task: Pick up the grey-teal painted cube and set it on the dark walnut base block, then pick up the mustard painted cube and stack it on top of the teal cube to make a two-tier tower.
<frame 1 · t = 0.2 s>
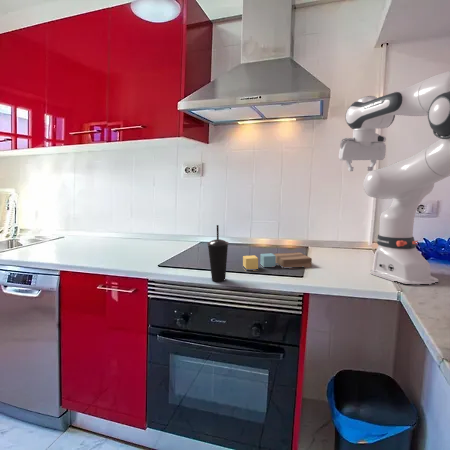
hand: (360, 171, 138), 39 cm above the worktop, tool pointing down, fingers open, 8 cm apart
walnut base: (292, 265, 136), on the worktop
teal cube: (267, 266, 133), on the worktop
mustard cube: (250, 269, 129), on the worktop
drinking cup: (218, 280, 115), on the worktop
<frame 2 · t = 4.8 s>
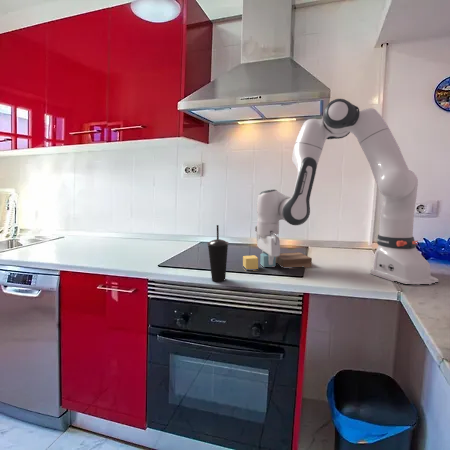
hand: (267, 262, 132), 2 cm above the worktop, tool pointing down, fingers closed on teal cube, 5 cm apart
teal cube: (267, 266, 133), on the worktop, touching gripper
everything else where it was.
when the fingers open (7 cm above the worktop, at t = 10.3 s): teal cube drops 2 cm, resting on walnut base.
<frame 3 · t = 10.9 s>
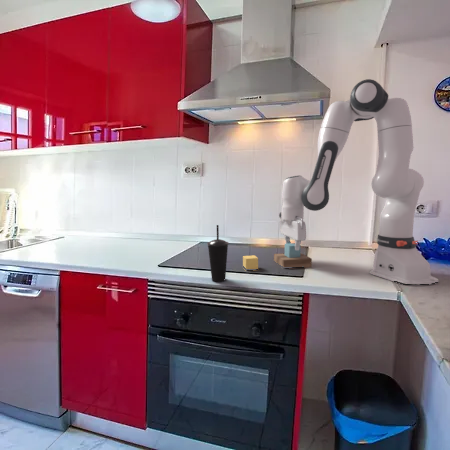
hand: (292, 247, 135), 7 cm above the worktop, tool pointing down, fingers open, 8 cm apart
walnut base: (291, 265, 136), on the worktop, touching teal cube
teal cube: (292, 256, 135), point 4 cm above the worktop, touching walnut base
everything else where it was.
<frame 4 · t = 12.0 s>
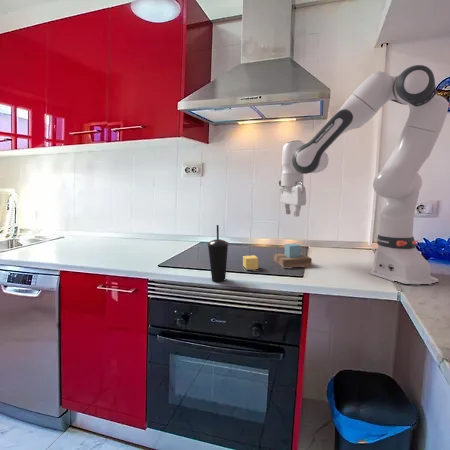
hand: (292, 215, 133), 21 cm above the worktop, tool pointing down, fingers open, 8 cm apart
nothing on the worktop moved.
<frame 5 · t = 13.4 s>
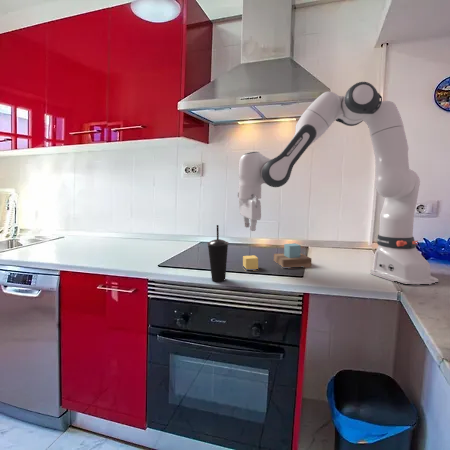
hand: (249, 228, 127), 16 cm above the worktop, tool pointing down, fingers open, 8 cm apart
nothing on the worktop moved.
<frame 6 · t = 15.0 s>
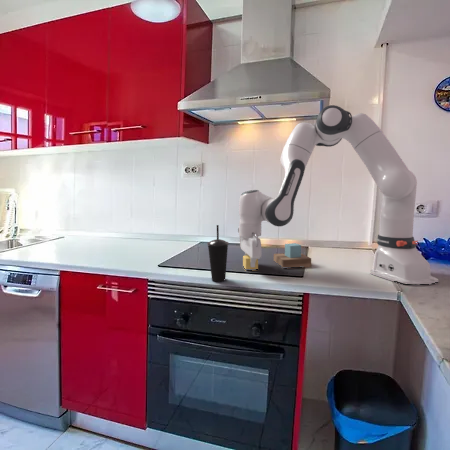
hand: (250, 264, 129), 2 cm above the worktop, tool pointing down, fingers closed on mustard cube, 5 cm apart
mustard cube: (250, 268, 129), on the worktop, touching gripper
everything else where it was.
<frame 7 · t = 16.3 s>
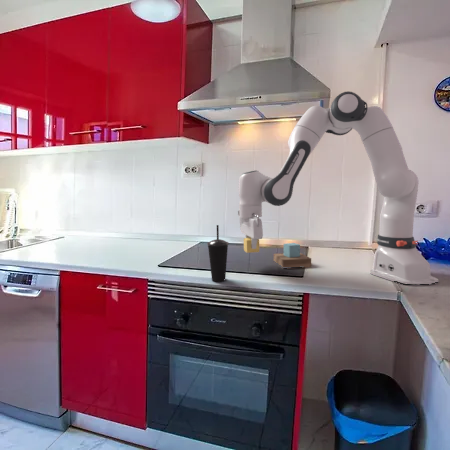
hand: (251, 247, 127), 9 cm above the worktop, tool pointing down, fingers closed on mustard cube, 5 cm apart
walnut base: (291, 265, 136), on the worktop
teal cube: (291, 255, 135), point 4 cm above the worktop
mustard cube: (251, 251, 127), point 7 cm above the worktop, touching gripper
everything else where it was.
when the fingers open (12 cm above the worktop, at t = 21.0 s): mustard cube drops 1 cm, resting on teal cube.
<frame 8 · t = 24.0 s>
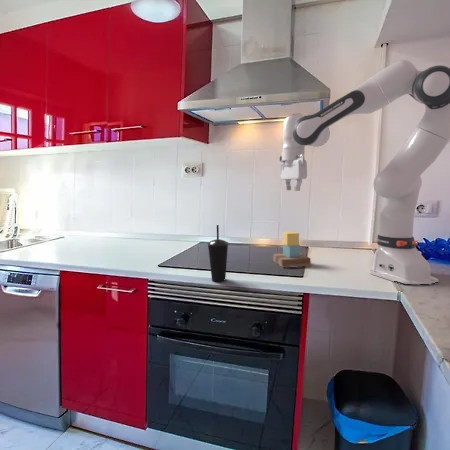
hand: (292, 190, 131), 31 cm above the worktop, tool pointing down, fingers open, 8 cm apart
teal cube: (291, 256, 135), point 3 cm above the worktop, touching mustard cube
mustard cube: (291, 244, 135), point 8 cm above the worktop, touching teal cube
everything else where it was.
at the end: teal cube 0.4 cm off-centre on the walnut base, point 4.0 cm above the walnut base's base; mustard cube 0.1 cm off-centre on the teal cube, point 5.0 cm above the teal cube's base; mustard cube tilted 1° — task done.
